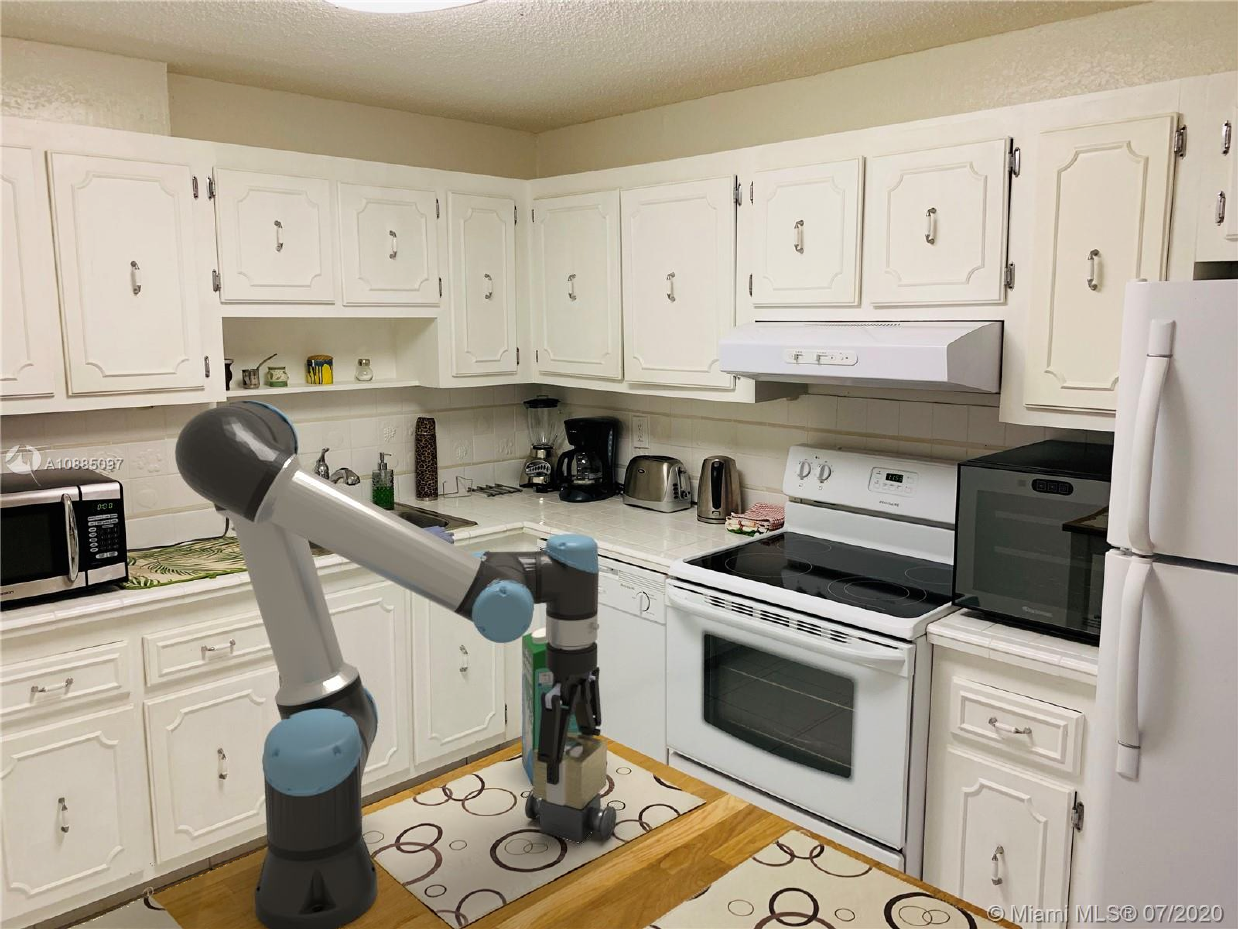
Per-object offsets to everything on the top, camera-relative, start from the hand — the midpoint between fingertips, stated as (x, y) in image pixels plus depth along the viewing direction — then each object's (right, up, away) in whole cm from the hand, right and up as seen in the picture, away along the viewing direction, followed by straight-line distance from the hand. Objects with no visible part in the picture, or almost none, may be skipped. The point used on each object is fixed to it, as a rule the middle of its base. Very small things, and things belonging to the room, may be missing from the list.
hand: (570, 789), depth 136 cm
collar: (0, 0, 0) cm, 0 cm away
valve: (0, -6, +1) cm, 6 cm away
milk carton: (-4, -4, +19) cm, 19 cm away
